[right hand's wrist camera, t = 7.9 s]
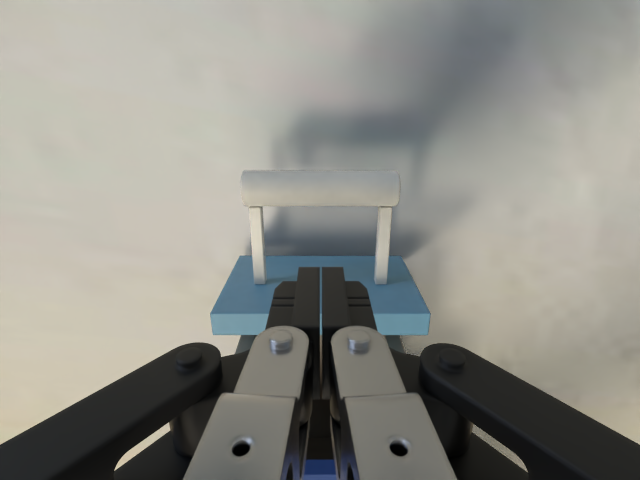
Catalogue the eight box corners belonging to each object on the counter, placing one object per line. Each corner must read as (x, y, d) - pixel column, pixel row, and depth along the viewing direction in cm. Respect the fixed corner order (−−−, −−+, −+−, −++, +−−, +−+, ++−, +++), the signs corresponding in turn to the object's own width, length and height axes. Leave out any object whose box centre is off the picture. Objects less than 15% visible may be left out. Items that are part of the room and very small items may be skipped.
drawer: (231, 159, 21) (193, 185, 15) (409, 159, 21) (447, 184, 15) (255, 431, 28) (236, 524, 22) (385, 432, 28) (404, 525, 22)
